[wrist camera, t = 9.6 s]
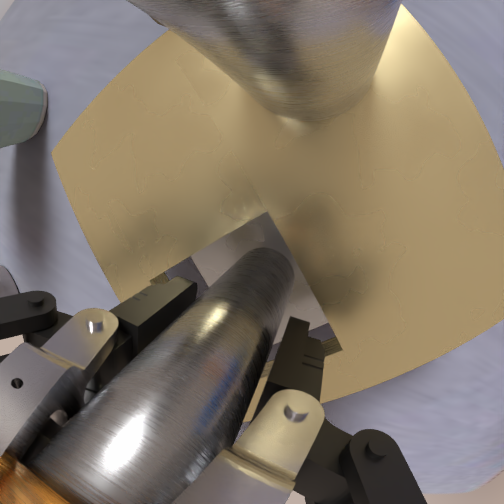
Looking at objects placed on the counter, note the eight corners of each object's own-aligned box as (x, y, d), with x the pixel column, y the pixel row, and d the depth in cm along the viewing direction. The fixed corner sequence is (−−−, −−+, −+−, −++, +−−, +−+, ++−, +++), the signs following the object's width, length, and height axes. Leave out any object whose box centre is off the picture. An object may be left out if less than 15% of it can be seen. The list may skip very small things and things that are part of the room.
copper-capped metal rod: (253, 317, 15) (94, 570, 2) (220, 262, 15) (-28, 470, 2) (310, 291, 14) (208, 626, 1) (277, 231, 14) (-3, 526, 1)
